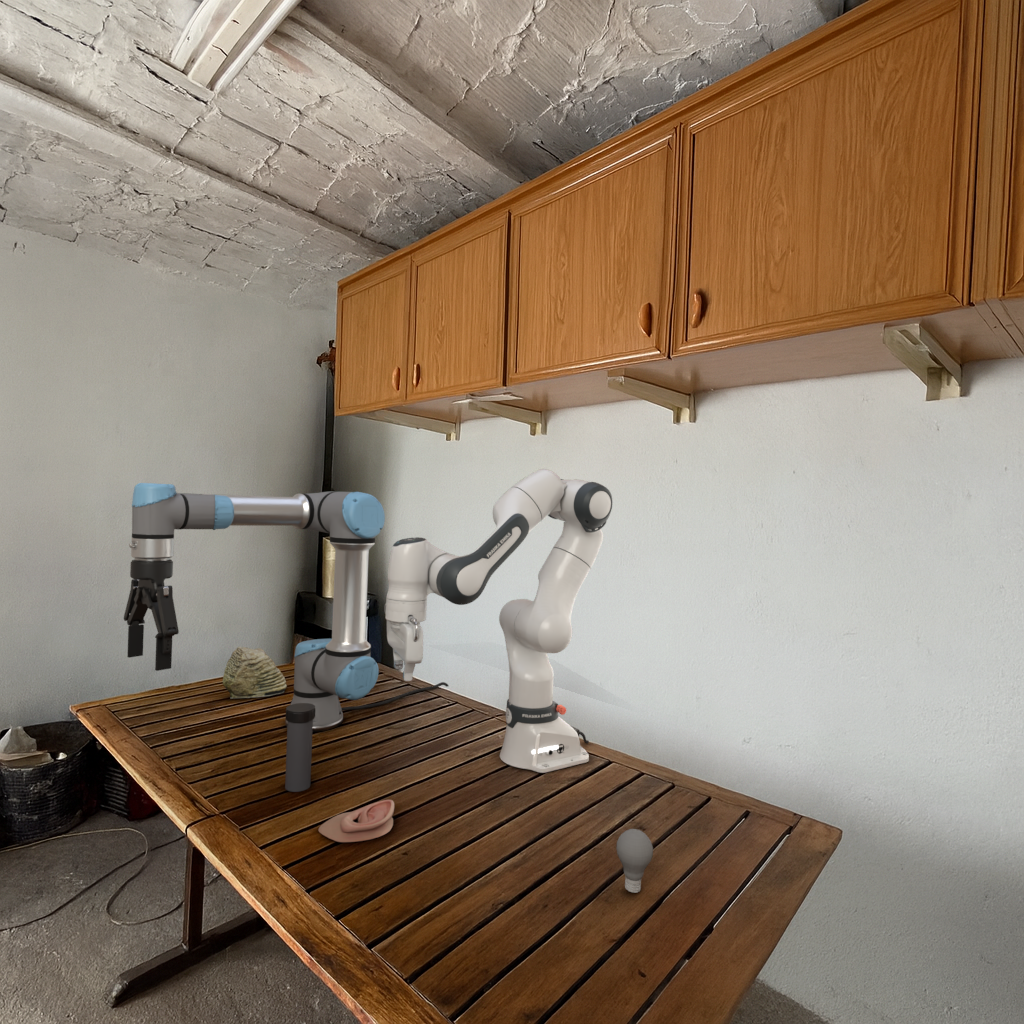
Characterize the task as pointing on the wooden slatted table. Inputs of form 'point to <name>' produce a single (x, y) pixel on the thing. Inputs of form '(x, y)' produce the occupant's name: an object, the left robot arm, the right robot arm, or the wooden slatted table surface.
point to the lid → (300, 712)
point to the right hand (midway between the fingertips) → (402, 674)
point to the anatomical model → (360, 823)
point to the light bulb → (634, 857)
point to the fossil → (252, 674)
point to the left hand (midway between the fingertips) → (148, 662)
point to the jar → (298, 756)
